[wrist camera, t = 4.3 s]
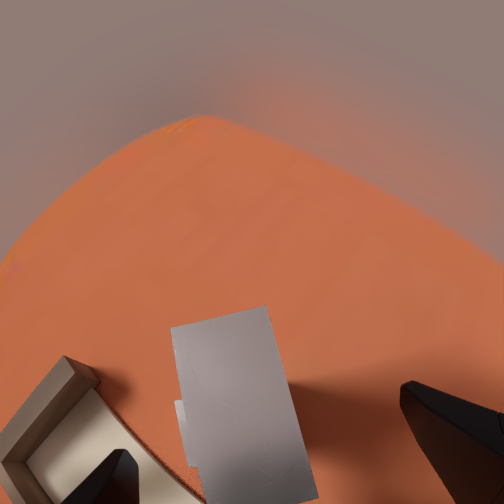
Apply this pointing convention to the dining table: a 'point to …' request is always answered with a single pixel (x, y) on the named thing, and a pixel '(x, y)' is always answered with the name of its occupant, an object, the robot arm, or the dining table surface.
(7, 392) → the dining table surface
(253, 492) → the bracket
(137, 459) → the corner fixture
